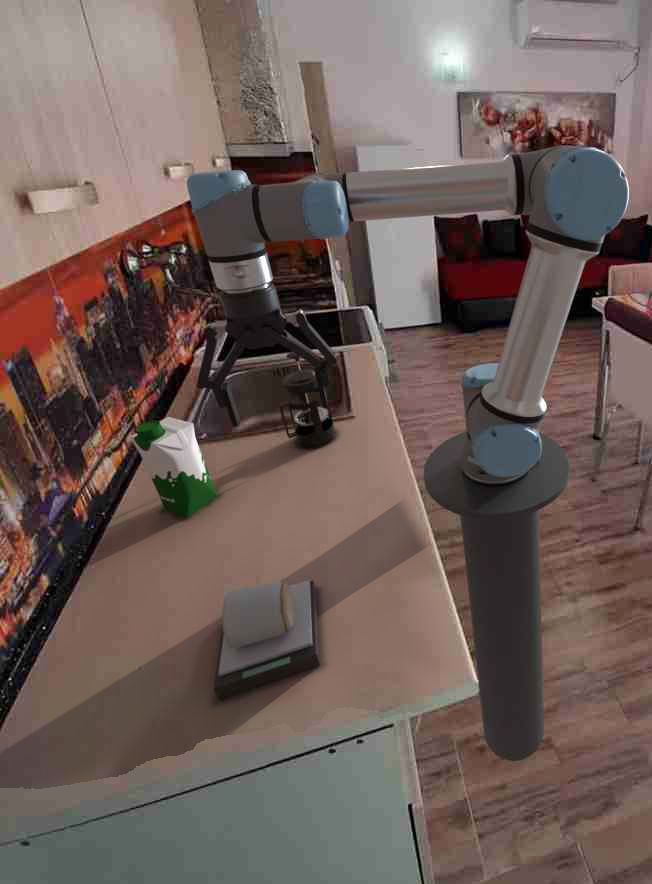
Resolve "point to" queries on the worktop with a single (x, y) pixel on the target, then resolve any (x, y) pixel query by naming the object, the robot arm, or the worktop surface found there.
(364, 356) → the worktop surface
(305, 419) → the french press
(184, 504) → the milk carton
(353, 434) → the worktop surface
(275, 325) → the robot arm
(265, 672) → the kitchen scale
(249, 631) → the ceramic mug
